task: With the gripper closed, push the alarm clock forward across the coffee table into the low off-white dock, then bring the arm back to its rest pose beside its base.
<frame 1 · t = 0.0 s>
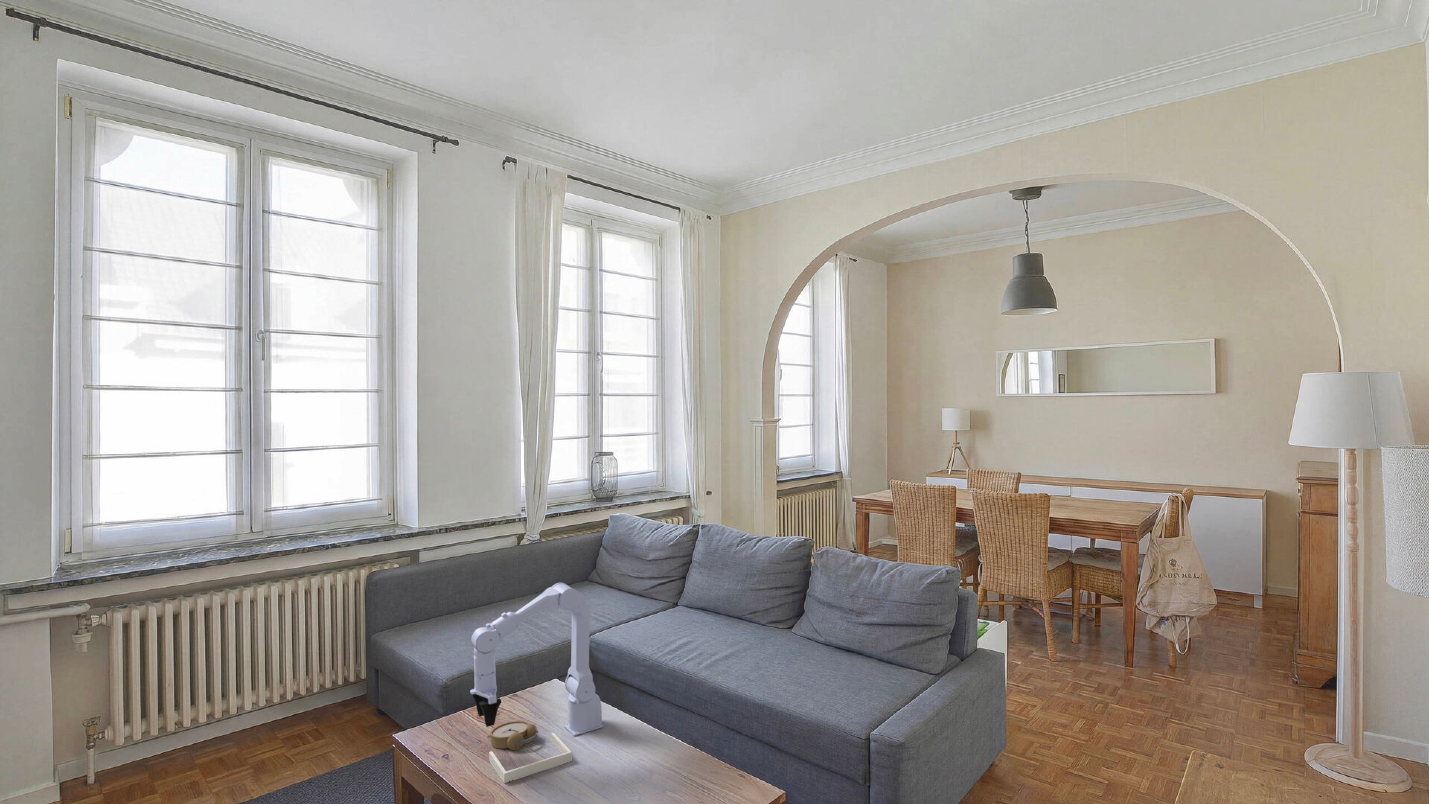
hand: (486, 720, 195), 10 cm above the table, tool pointing down, fingers open, 7 cm apart
clock dock: (530, 761, 191), on the table
alarm clock: (514, 742, 203), on the table
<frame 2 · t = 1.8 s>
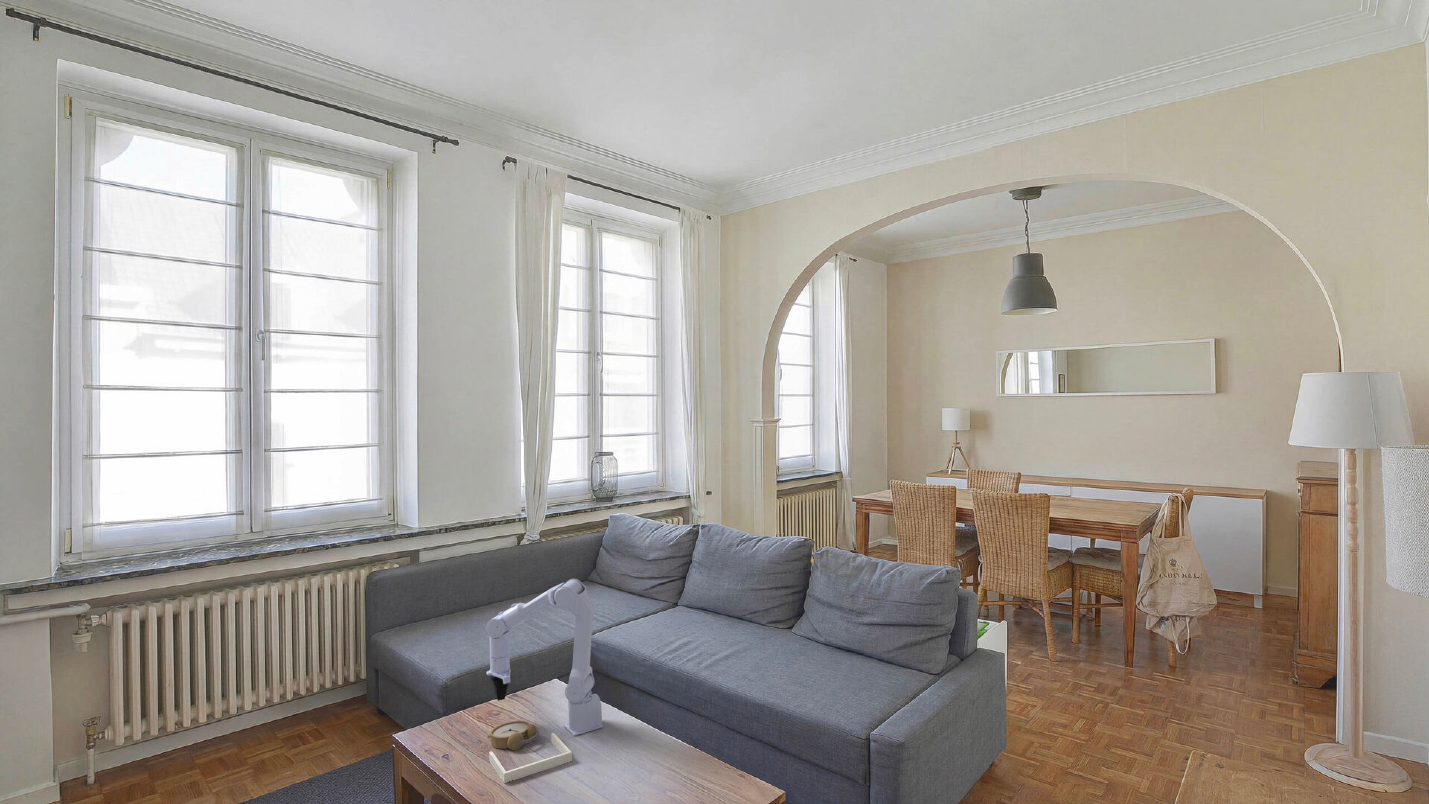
hand: (500, 699, 214), 8 cm above the table, tool pointing down, fingers closed
nothing on the table moved.
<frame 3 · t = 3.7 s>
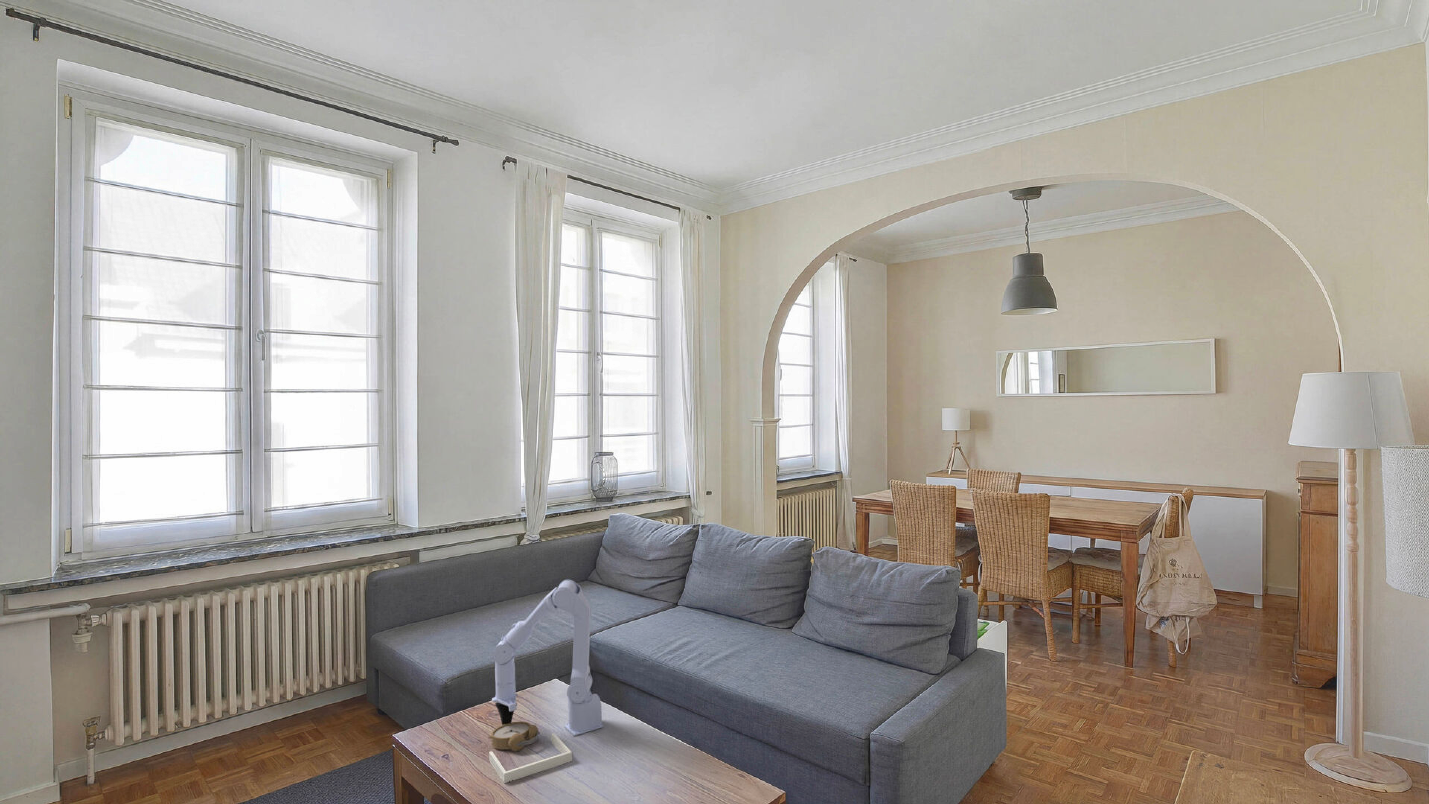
hand: (506, 726, 209), 1 cm above the table, tool pointing down, fingers closed
alarm clock: (516, 743, 202), on the table, touching gripper
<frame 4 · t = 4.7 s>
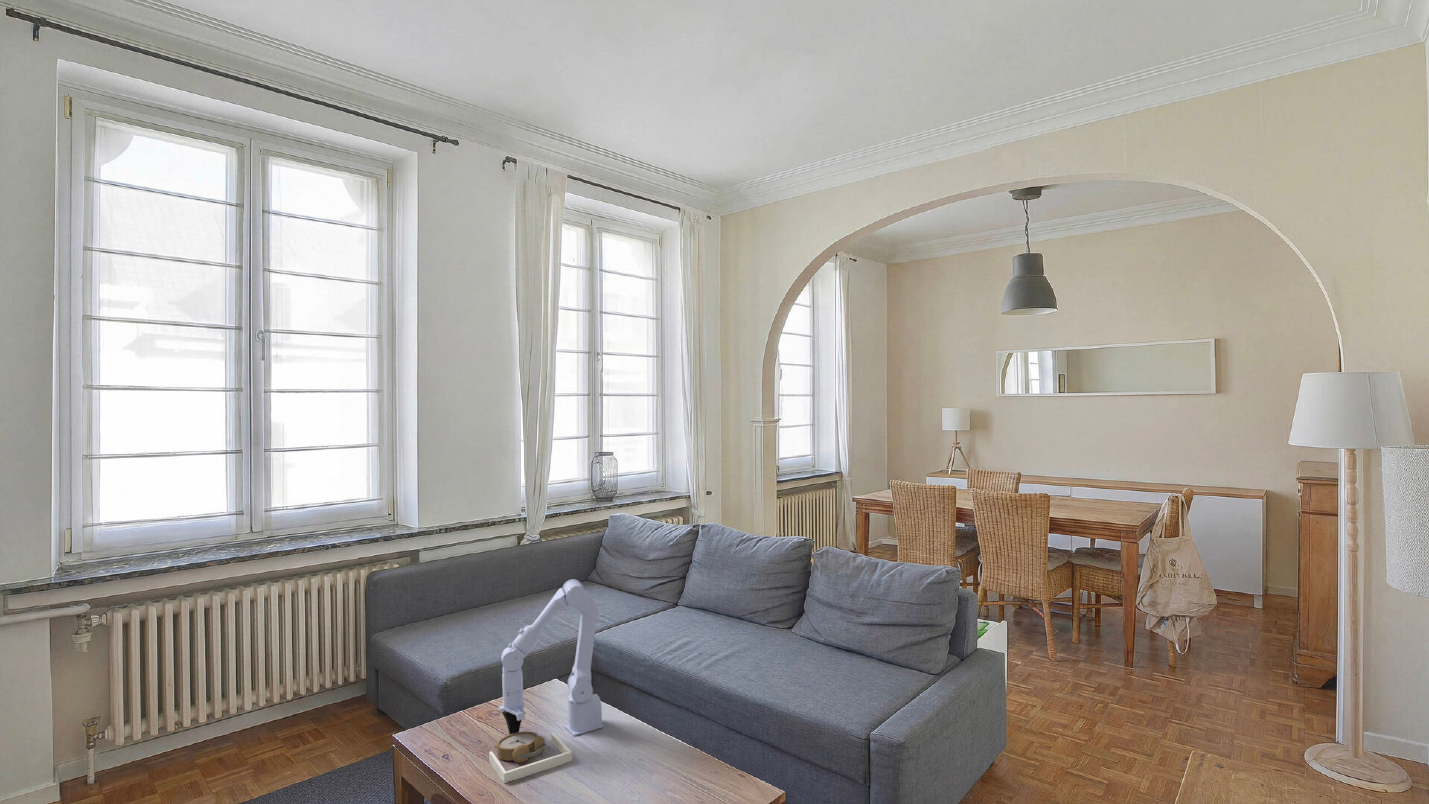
hand: (514, 735, 203), 1 cm above the table, tool pointing down, fingers closed
alarm clock: (522, 754, 196), on the table, touching gripper
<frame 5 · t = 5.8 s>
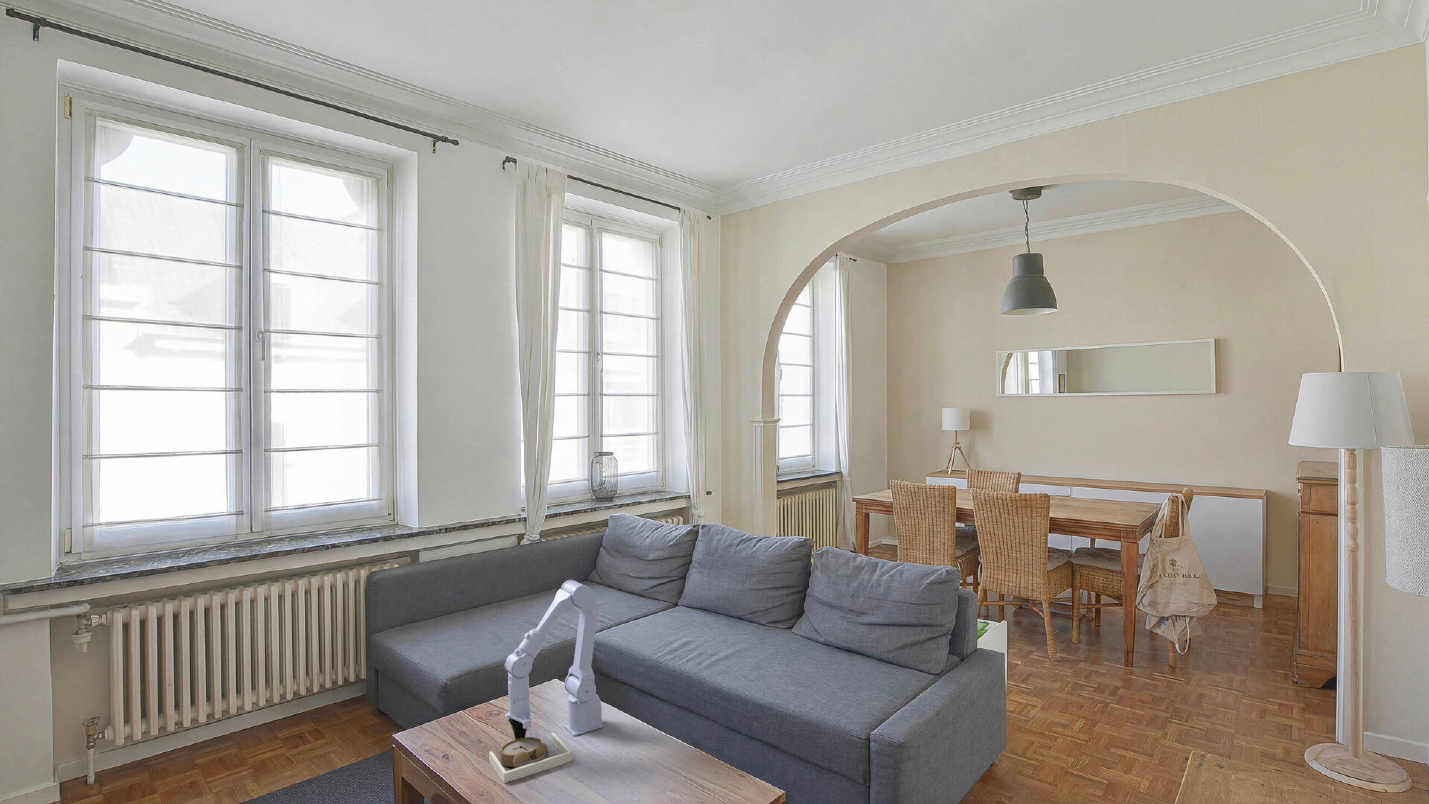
hand: (520, 743, 199), 1 cm above the table, tool pointing down, fingers closed, pressing on alarm clock
alarm clock: (524, 761, 192), on the table, touching clock dock, gripper
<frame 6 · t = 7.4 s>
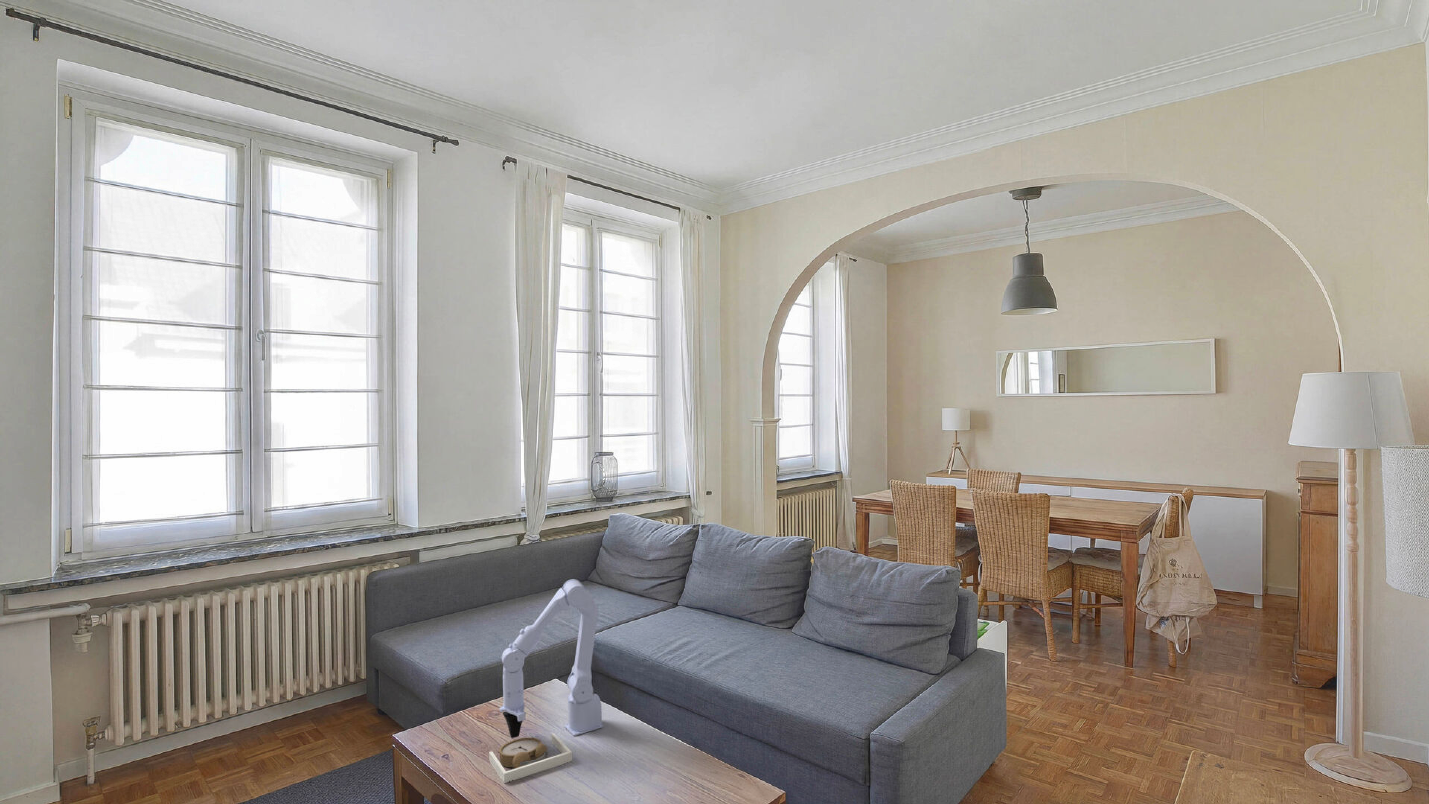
hand: (514, 736, 203), 1 cm above the table, tool pointing down, fingers closed
alarm clock: (524, 761, 192), on the table
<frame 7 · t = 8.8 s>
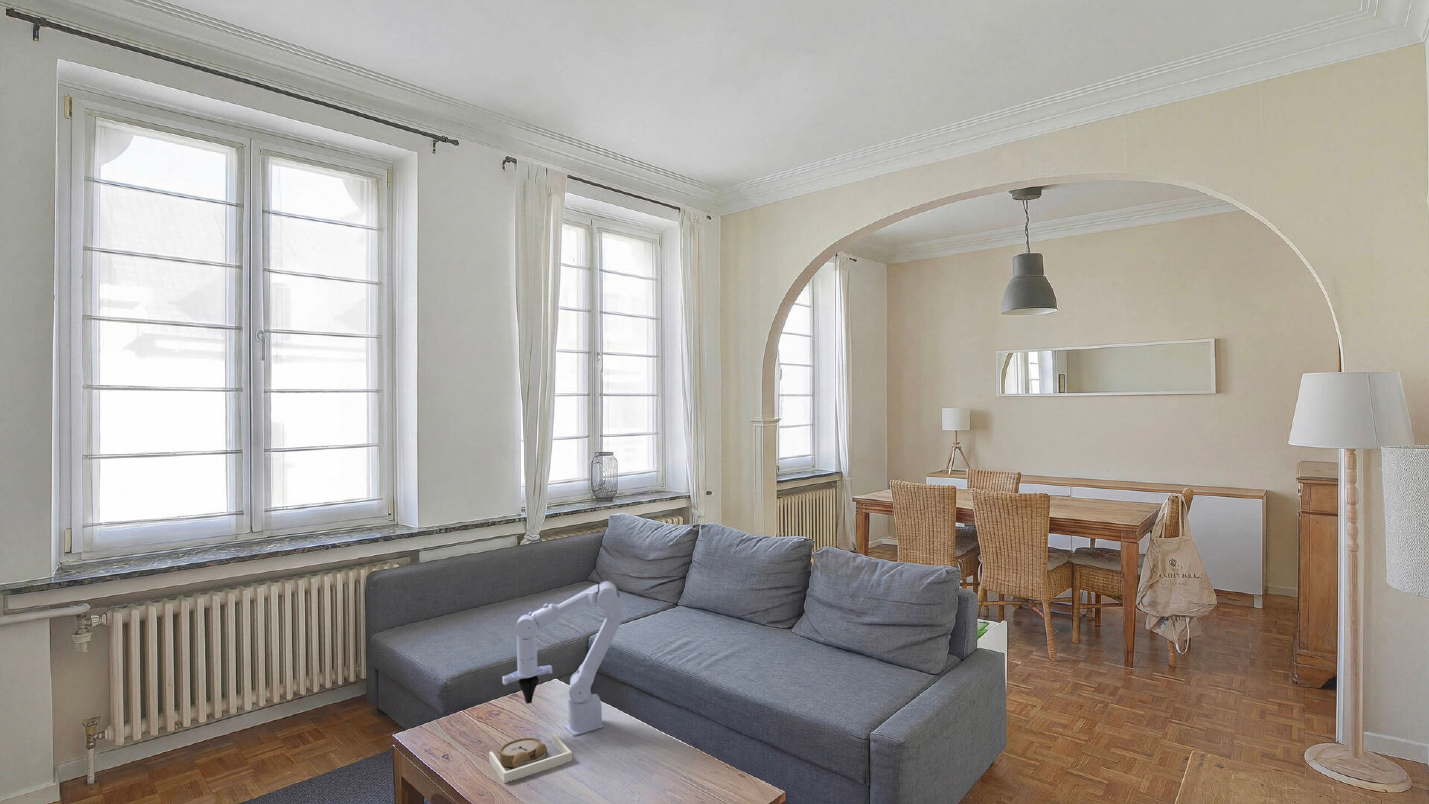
hand: (528, 702, 207), 9 cm above the table, tool pointing down, fingers closed
nothing on the table moved.
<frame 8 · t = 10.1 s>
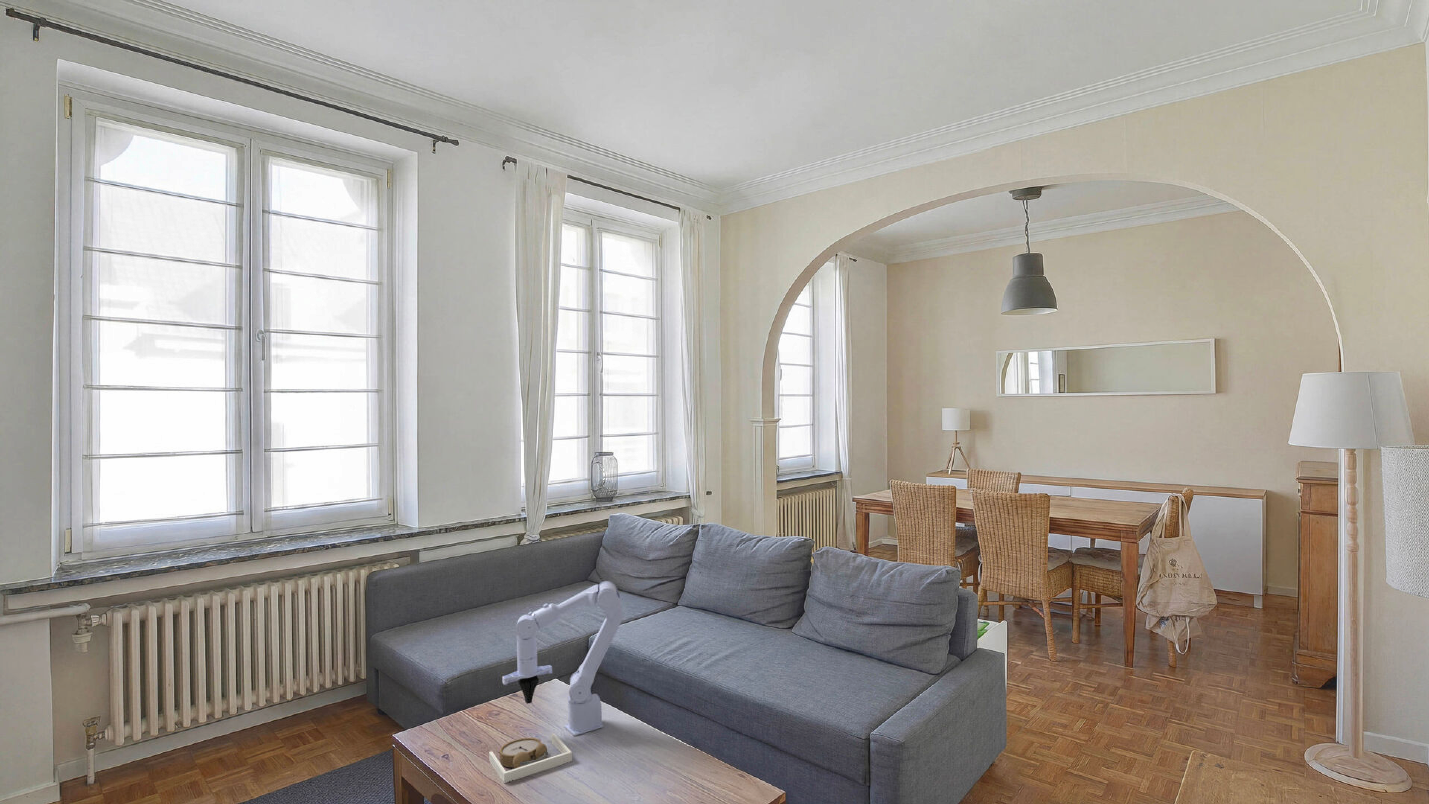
hand: (528, 702, 207), 9 cm above the table, tool pointing down, fingers closed
nothing on the table moved.
at the end: alarm clock 2.0 cm from the target spot, on the table; alarm clock moved 12.4 cm from its start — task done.
